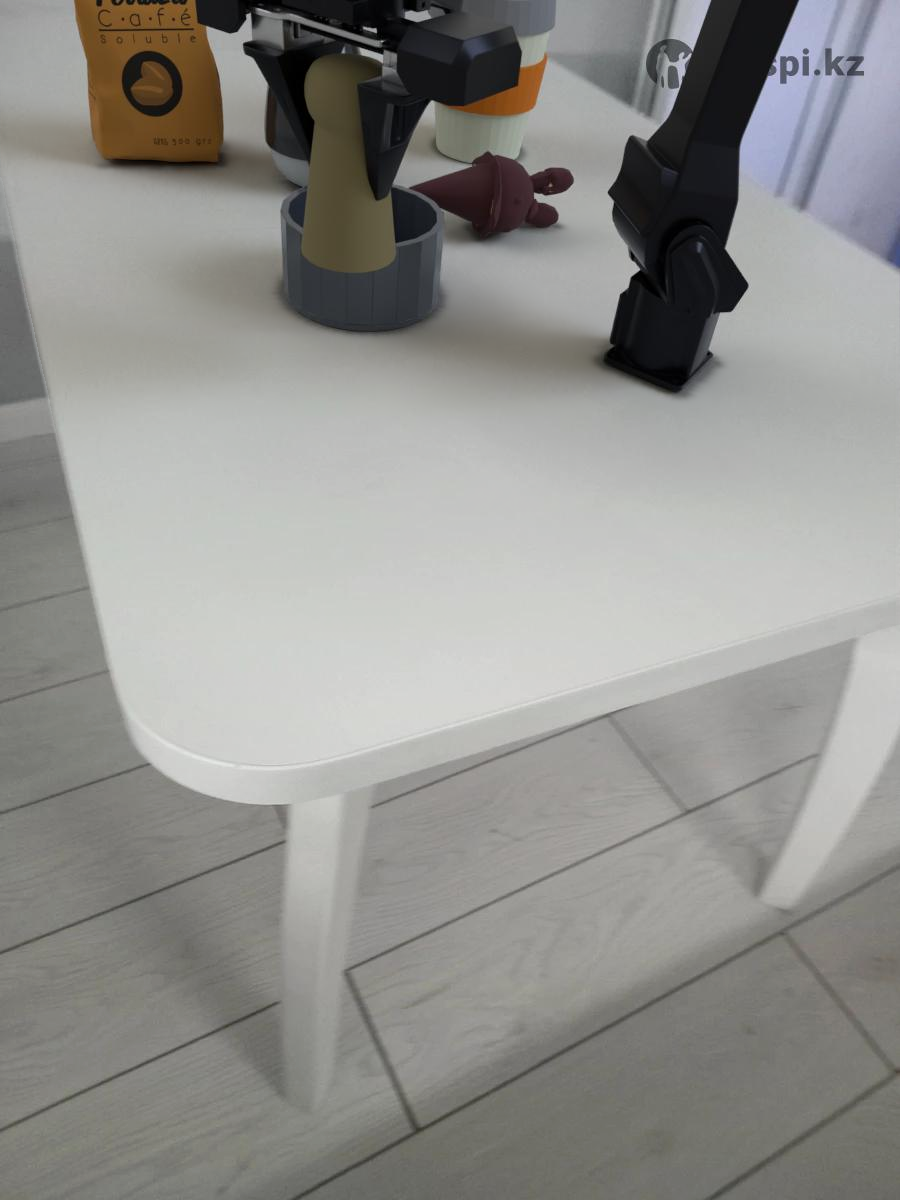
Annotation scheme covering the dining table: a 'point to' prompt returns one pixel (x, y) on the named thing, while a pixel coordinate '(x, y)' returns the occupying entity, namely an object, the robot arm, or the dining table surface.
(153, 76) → the coffee package
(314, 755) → the dining table surface
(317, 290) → the bowl
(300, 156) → the black glossy tall vessel
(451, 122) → the reusable coffee cup
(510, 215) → the icecream
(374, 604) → the dining table surface
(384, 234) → the olive pawn
